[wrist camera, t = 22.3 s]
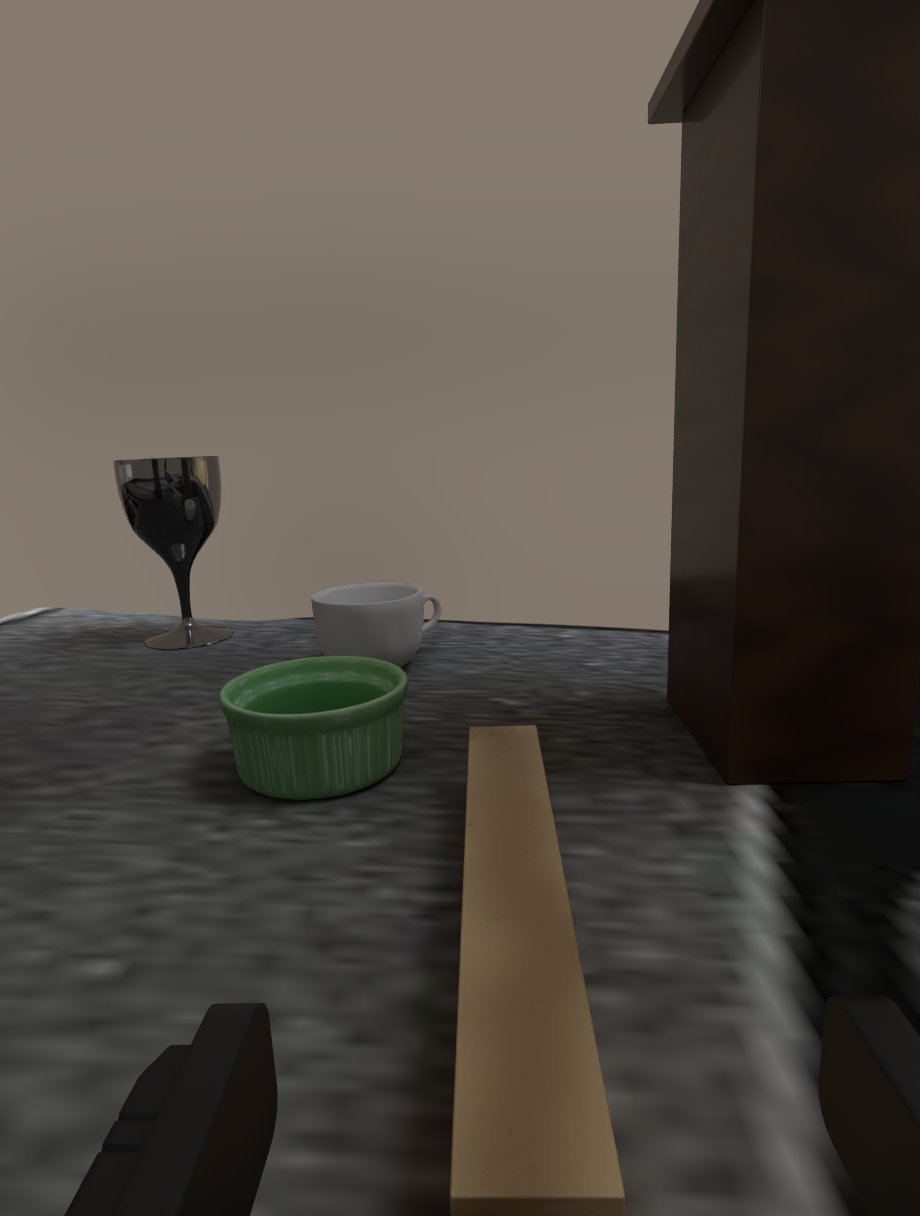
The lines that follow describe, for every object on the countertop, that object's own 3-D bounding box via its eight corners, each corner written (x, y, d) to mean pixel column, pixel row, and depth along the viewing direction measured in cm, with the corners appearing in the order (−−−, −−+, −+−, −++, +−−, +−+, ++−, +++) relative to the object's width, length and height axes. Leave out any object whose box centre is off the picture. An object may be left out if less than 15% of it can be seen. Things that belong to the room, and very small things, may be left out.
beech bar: (456, 1329, 13) (449, 1197, 12) (471, 787, 34) (469, 726, 33) (623, 1329, 13) (625, 1196, 12) (537, 786, 34) (536, 724, 33)
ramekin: (379, 816, 31) (373, 719, 30) (190, 802, 33) (179, 711, 32) (431, 734, 40) (427, 657, 39) (279, 726, 42) (271, 653, 41)
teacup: (351, 692, 47) (344, 610, 46) (299, 666, 53) (292, 593, 52) (472, 659, 53) (469, 586, 52) (413, 639, 59) (409, 574, 58)
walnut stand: (699, 795, 32) (732, -68, 25) (637, 694, 45) (647, 103, 37) (957, 790, 32) (1066, -90, 24) (821, 689, 44) (866, 90, 37)
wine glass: (188, 623, 68) (167, 457, 64) (257, 629, 64) (239, 455, 61) (117, 646, 61) (90, 461, 57) (190, 654, 57) (166, 458, 54)
